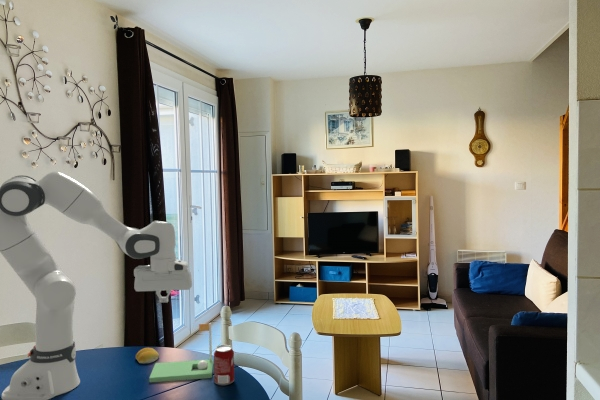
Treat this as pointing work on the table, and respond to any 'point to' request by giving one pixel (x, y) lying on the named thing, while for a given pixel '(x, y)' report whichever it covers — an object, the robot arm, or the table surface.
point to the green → (183, 366)
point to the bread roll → (147, 355)
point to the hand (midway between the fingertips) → (163, 302)
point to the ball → (202, 365)
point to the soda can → (224, 365)
